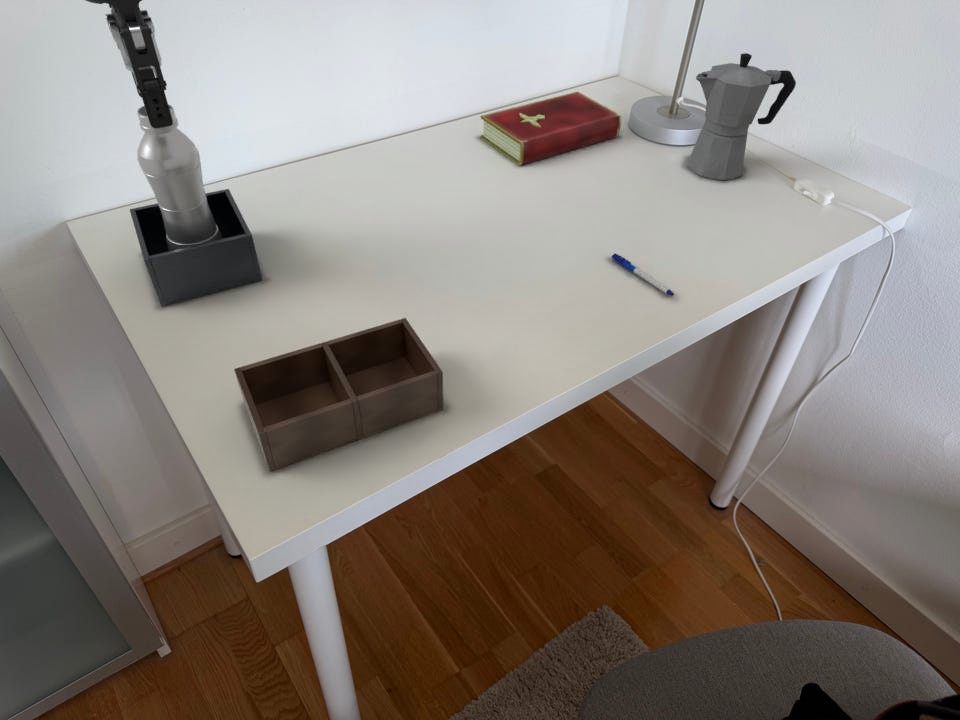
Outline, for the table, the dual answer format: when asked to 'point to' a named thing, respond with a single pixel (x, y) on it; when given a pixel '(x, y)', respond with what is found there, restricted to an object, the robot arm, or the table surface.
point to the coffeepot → (733, 115)
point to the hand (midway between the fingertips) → (155, 110)
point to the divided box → (339, 391)
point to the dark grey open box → (198, 253)
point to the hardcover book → (549, 127)
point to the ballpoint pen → (640, 273)
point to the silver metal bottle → (176, 183)
